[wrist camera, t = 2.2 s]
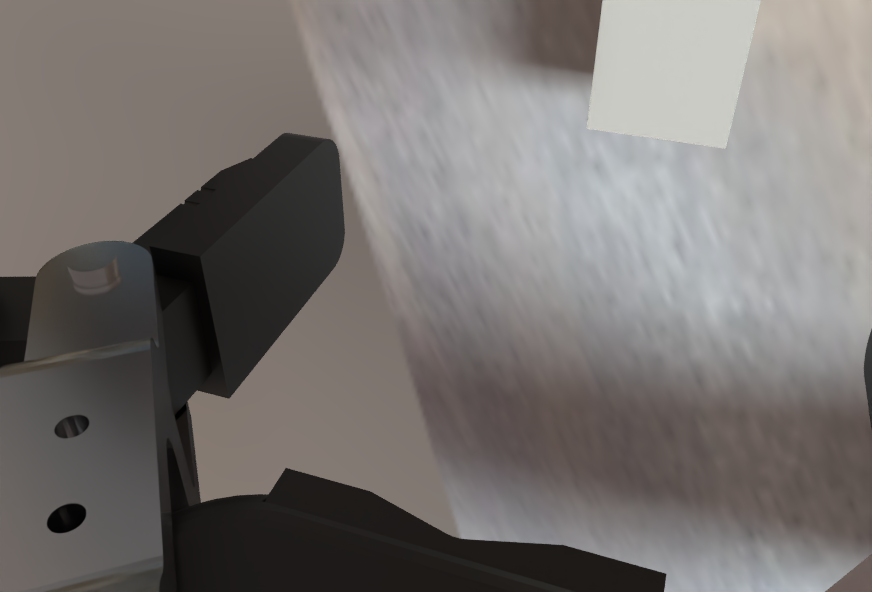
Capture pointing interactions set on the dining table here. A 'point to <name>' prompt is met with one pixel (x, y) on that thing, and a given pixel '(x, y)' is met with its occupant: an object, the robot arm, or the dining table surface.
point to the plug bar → (671, 68)
